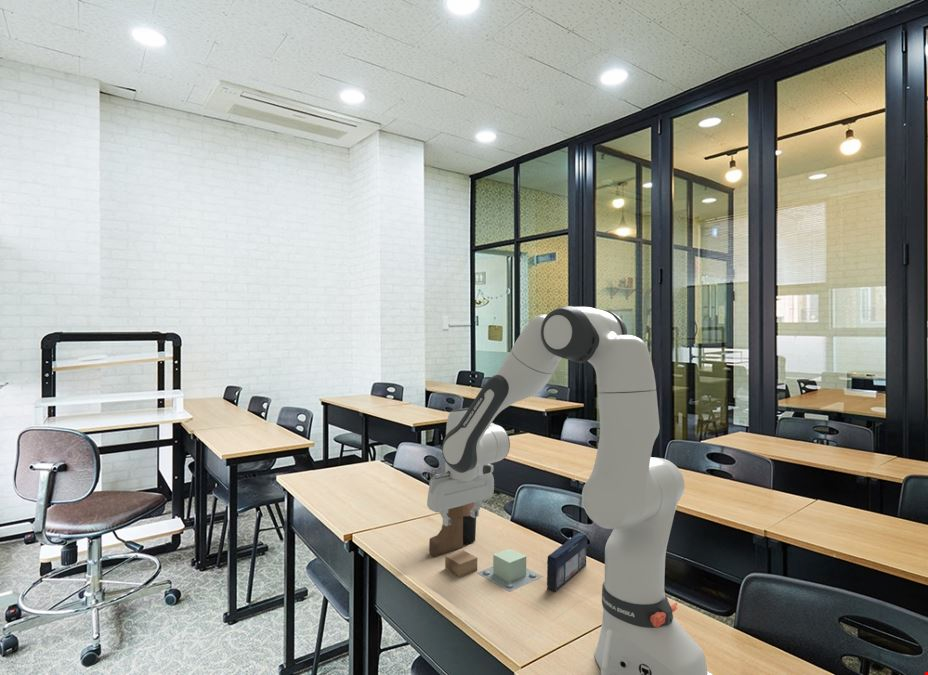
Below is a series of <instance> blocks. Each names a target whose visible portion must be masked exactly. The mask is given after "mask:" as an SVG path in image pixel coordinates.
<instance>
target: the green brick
mask: <svg viewBox="0 0 928 675" xmlns="http://www.w3.org/2000/svg"><path fill="white" fill-rule="evenodd" d="M492 559H493V560H492V561H493V564H492V565H493V566H492V567H493V574H495V575H496V576H498V577H500V578H502V579H504V580H505V581H507V582H509V583H510V582H513V581H515V580H517V579H519V578H522V577H524V576H526V568H527V555H525V554H522V553H520V552H518V551H517V550H514V549H511V548H507V549H505V550H502V551H499V552H496V553H494V554H493V557H492Z"/></svg>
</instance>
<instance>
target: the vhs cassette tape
mask: <svg viewBox="0 0 928 675" xmlns="http://www.w3.org/2000/svg"><path fill="white" fill-rule="evenodd" d="M587 543H588V535H587V533H582V532H578V533H577V534H575V535H573V536H572V537H571V538H570V539H568V540H566V542H565V543H564V544H562V545H560V546H559V547H558V548H557V549H555V550H553V552H551V553H550V554H549V555H547V558H546V559H547V560H546V564H547V569H546V570H547V571H546V590H547V591H550V592H553V593H557V592H558V591H559V590H560V589H561V588H562V587H563V586H564V585H566V584H567V583H568V582H570V581H571V579H573V578H574V577H575V576H576V575H577V574H578V573H580V572H581V571H582V569H584V568H585V567H586V566H587V552H588V551H587V550H588V548H587Z"/></svg>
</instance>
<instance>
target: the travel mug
mask: <svg viewBox="0 0 928 675" xmlns="http://www.w3.org/2000/svg"><path fill="white" fill-rule="evenodd" d="M474 504H475V503H474V502H473V503H470V504H466V505H463V545H471V544H473V543H475V542H476V530H477V517H475V518H473V517H471V515H470V514H471V510H472V509H473V507H474Z"/></svg>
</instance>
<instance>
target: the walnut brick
mask: <svg viewBox="0 0 928 675" xmlns="http://www.w3.org/2000/svg"><path fill="white" fill-rule="evenodd" d="M444 565H445V567H444V569H445V570H447V571H448V572H450V573H452V574H453V575H455V576H456V577H458V578H461V577H464V576H467V575H469V574H473V573H475V572H477V571H478V557H477V556H475V555H473V554H471V553H470V552H467V551H466V550H464V549H462V550H461V549H460V550H457V551H456V552H452V553H450V554H448V555H445V564H444Z"/></svg>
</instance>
